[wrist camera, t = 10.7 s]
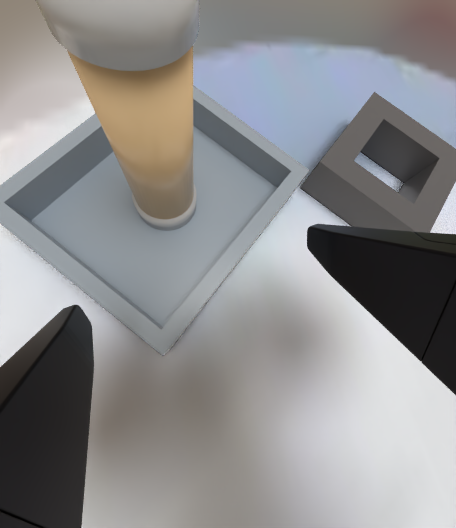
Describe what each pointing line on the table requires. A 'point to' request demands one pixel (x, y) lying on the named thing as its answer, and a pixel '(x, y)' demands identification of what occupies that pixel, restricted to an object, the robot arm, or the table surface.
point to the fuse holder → (393, 160)
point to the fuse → (139, 92)
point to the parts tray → (141, 234)
